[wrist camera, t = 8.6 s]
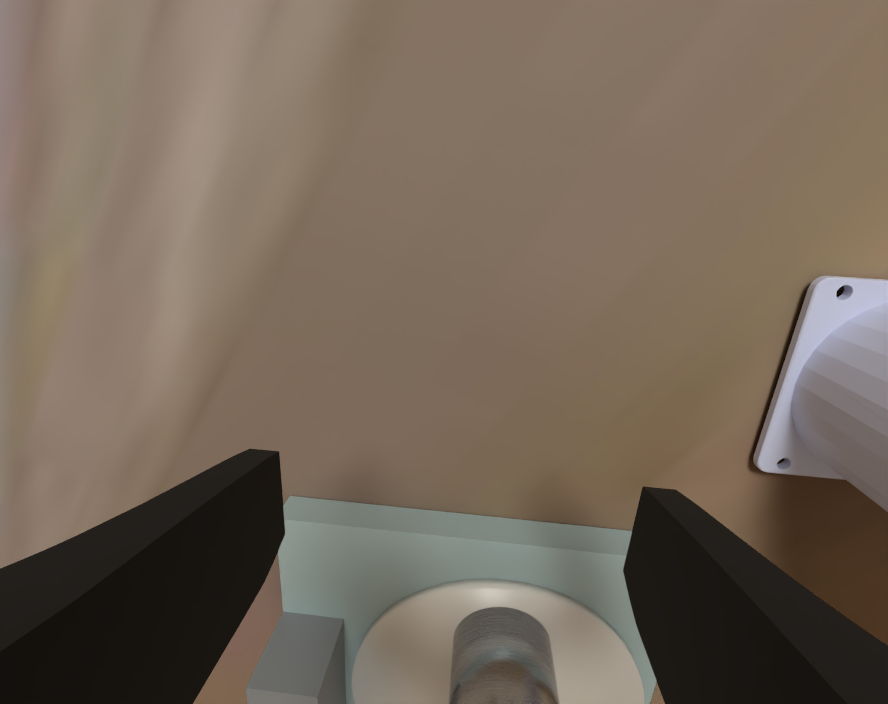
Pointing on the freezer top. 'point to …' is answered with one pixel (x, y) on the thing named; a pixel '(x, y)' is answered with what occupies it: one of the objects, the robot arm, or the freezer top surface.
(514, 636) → the cylinder
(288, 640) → the scale
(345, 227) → the freezer top surface
